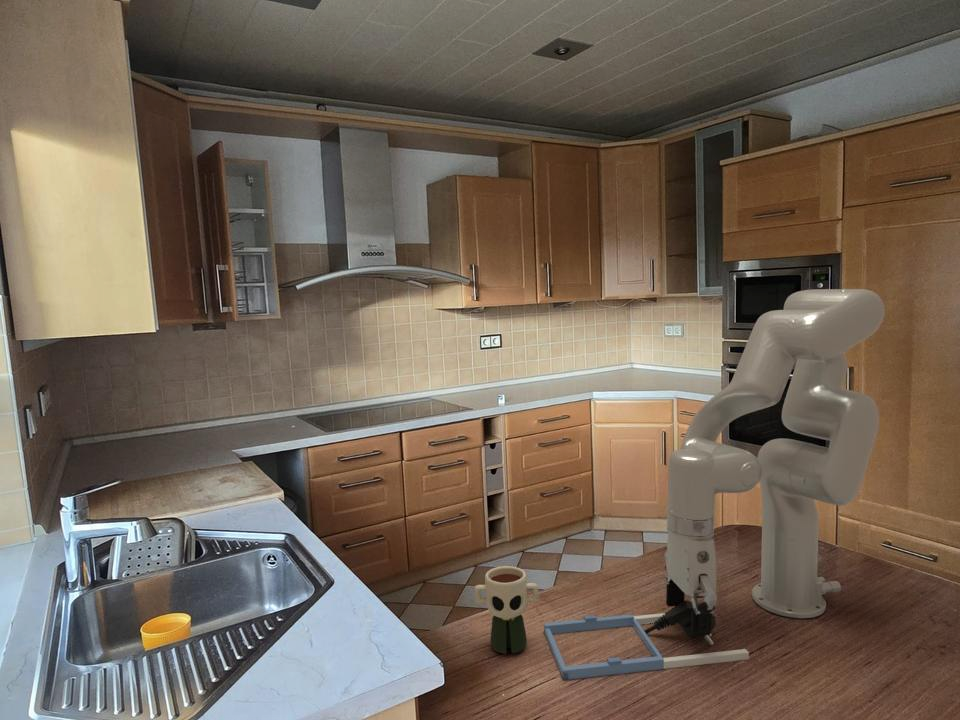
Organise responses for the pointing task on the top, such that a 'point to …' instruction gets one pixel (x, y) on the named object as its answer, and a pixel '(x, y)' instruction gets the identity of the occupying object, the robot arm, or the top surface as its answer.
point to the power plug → (681, 620)
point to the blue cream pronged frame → (629, 665)
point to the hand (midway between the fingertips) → (687, 619)
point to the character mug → (507, 606)
